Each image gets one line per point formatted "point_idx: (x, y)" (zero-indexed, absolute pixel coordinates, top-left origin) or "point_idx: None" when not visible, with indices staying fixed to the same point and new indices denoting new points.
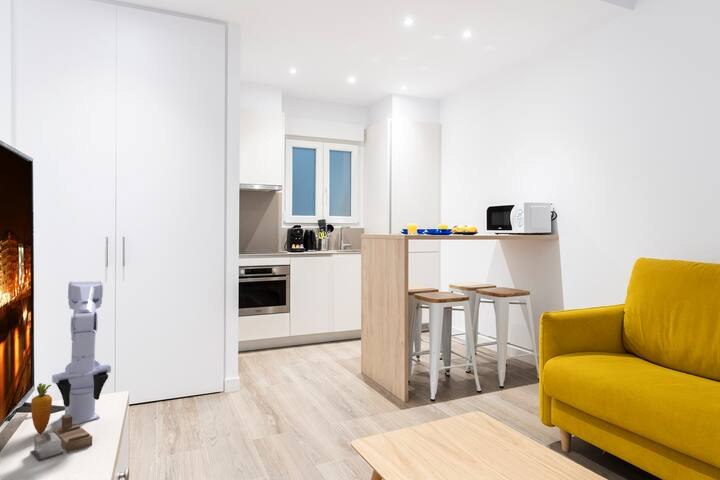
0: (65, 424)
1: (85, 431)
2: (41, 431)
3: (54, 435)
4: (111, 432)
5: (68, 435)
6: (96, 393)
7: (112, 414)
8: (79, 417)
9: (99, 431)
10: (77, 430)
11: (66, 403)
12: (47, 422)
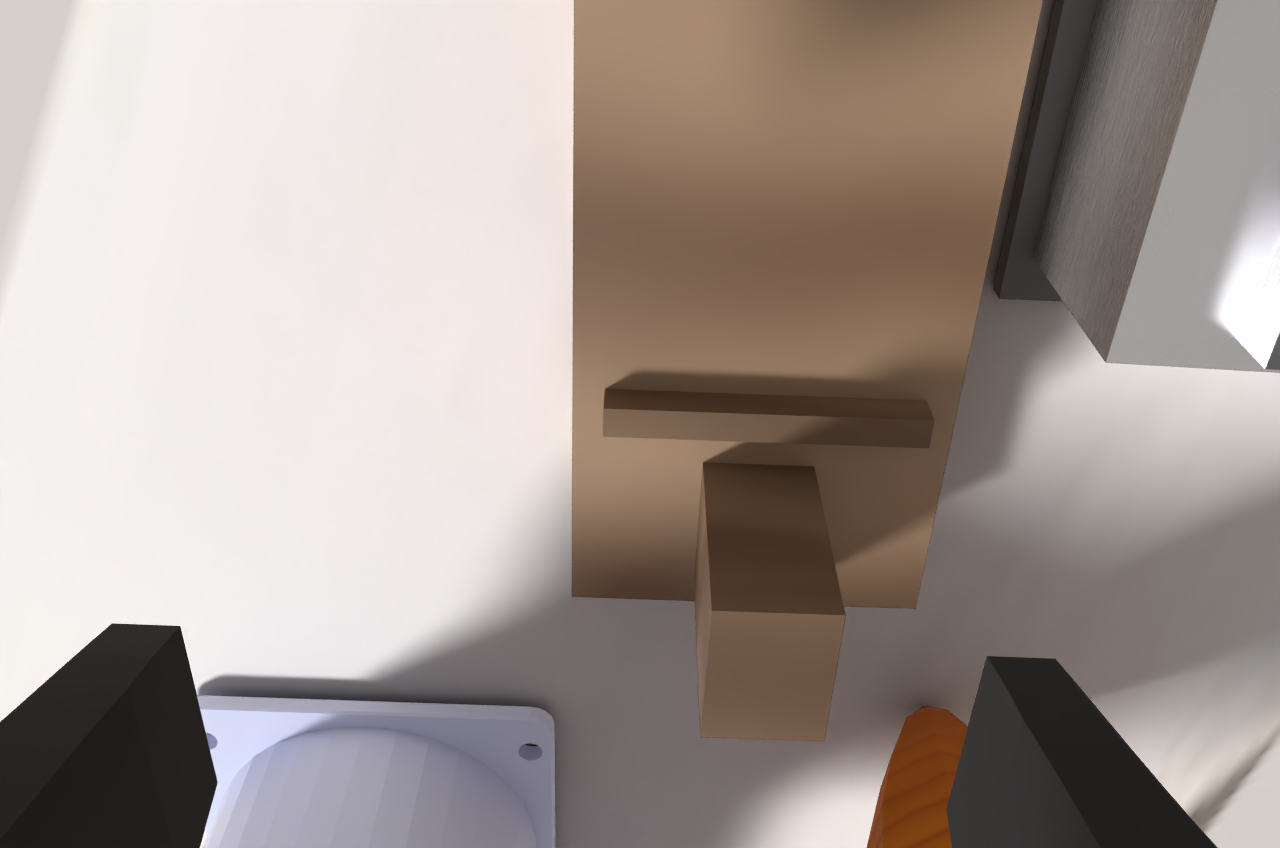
0: (821, 528)
1: (584, 186)
2: (947, 725)
3: (1187, 220)
4: (149, 111)
5: (869, 235)
6: (92, 814)
7: (9, 698)
8: (437, 785)
9: (306, 295)
10: (669, 331)
11: (1118, 737)
12: (905, 804)
